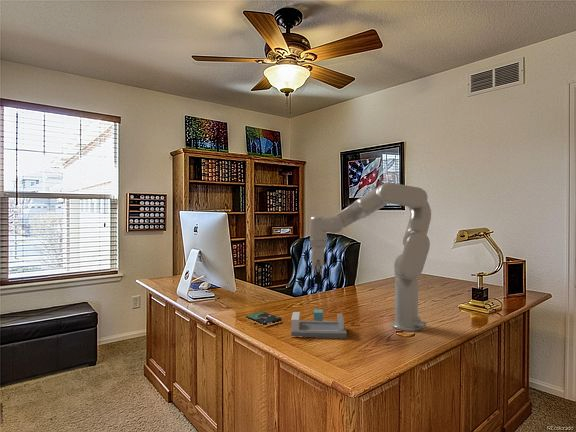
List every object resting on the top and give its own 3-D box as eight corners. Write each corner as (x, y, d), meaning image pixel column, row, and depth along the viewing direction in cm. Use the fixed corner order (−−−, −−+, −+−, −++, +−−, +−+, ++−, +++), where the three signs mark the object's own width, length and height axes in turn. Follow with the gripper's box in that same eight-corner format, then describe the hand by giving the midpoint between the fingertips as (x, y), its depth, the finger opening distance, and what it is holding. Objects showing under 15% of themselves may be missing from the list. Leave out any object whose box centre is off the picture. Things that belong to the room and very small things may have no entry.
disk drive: (282, 323, 164) (261, 316, 175) (282, 317, 164) (261, 310, 175) (264, 329, 157) (244, 321, 168) (264, 322, 157) (244, 315, 168)
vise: (344, 328, 155) (344, 312, 155) (346, 338, 143) (346, 320, 143) (293, 327, 157) (292, 311, 157) (291, 337, 145) (291, 320, 145)
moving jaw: (341, 324, 154) (341, 313, 154) (343, 332, 144) (343, 320, 144) (337, 324, 155) (337, 313, 154) (338, 332, 145) (338, 320, 145)
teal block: (322, 321, 166) (322, 309, 165) (322, 324, 161) (322, 312, 160) (313, 321, 166) (313, 309, 166) (313, 324, 161) (313, 312, 161)
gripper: (310, 241, 172) (310, 277, 172) (309, 245, 154) (309, 285, 155) (326, 242, 171) (326, 278, 171) (327, 245, 154) (327, 285, 154)
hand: (318, 281), depth 163 cm, fingers open, 9 cm apart
